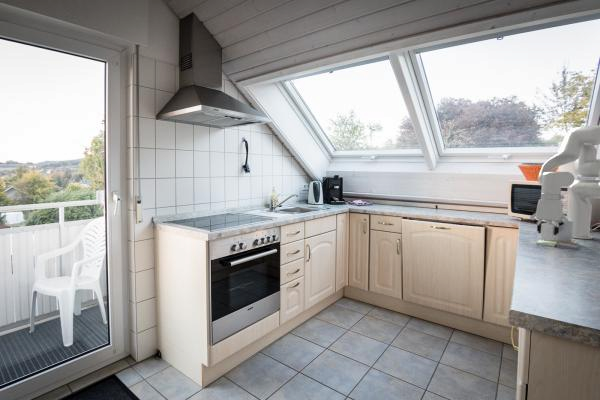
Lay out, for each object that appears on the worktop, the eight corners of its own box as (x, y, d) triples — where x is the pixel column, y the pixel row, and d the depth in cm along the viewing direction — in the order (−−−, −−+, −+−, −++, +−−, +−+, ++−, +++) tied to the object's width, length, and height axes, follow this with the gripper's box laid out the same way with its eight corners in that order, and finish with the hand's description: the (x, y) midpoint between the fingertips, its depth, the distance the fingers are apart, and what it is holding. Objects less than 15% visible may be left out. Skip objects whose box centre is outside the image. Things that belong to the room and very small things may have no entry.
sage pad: (539, 242, 166) (539, 240, 166) (556, 244, 161) (556, 242, 161) (536, 244, 161) (536, 242, 161) (554, 246, 156) (554, 244, 156)
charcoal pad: (558, 244, 160) (559, 242, 160) (577, 247, 155) (577, 245, 155) (556, 246, 155) (557, 244, 155) (575, 249, 150) (576, 247, 150)
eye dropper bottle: (542, 238, 164) (544, 214, 163) (555, 240, 159) (557, 216, 158) (538, 238, 162) (540, 215, 161) (551, 241, 157) (553, 216, 156)
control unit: (546, 239, 172) (547, 217, 171) (575, 243, 164) (577, 220, 163) (543, 241, 167) (545, 219, 166) (574, 245, 159) (576, 222, 158)
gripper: (574, 198, 155) (570, 235, 157) (530, 195, 167) (528, 230, 169) (572, 199, 150) (568, 237, 152) (527, 196, 162) (524, 232, 164)
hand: (547, 233), depth 161 cm, fingers closed on eye dropper bottle, 5 cm apart
